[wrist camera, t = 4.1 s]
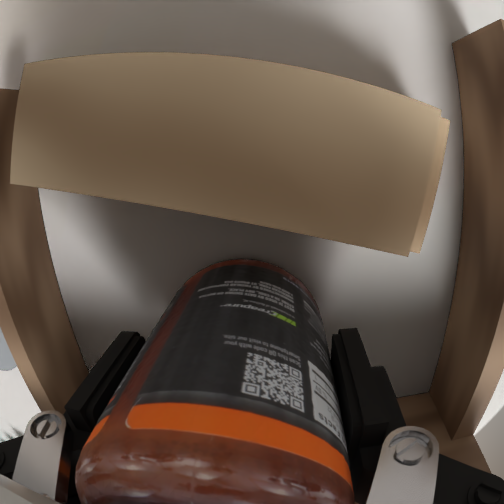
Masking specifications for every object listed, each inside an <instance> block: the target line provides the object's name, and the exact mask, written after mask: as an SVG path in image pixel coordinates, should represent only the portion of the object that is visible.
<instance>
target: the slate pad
mask: <svg viewBox="0 0 504 504" xmlns="http://www.w3.org/2000/svg"><path fill="white" fill-rule="evenodd" d="M16 366H17V365H16V362H15V360H14V358H13V356H12V354H11V351H10V349H9V347H8V345H7V342H6V340H5V338H4V335H3V333H2V330H1V328H0V370H3V371H8V370H12V369H13V368H15V367H16Z"/></svg>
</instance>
